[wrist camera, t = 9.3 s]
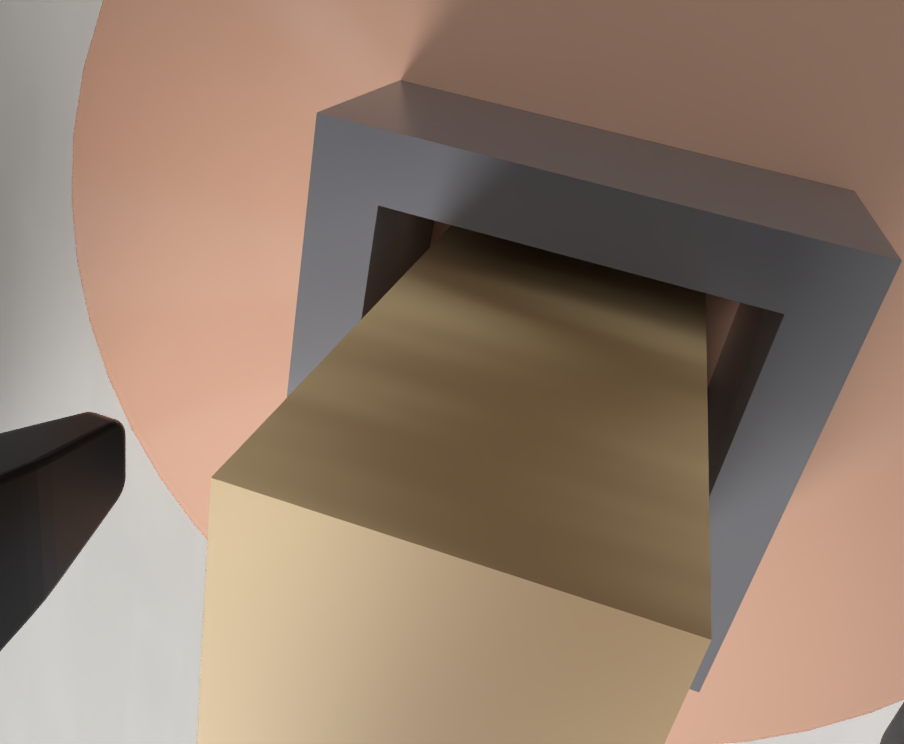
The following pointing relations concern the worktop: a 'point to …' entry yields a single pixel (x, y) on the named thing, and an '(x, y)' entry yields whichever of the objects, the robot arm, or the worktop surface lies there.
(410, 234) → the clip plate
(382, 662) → the oak peg
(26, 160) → the worktop surface
